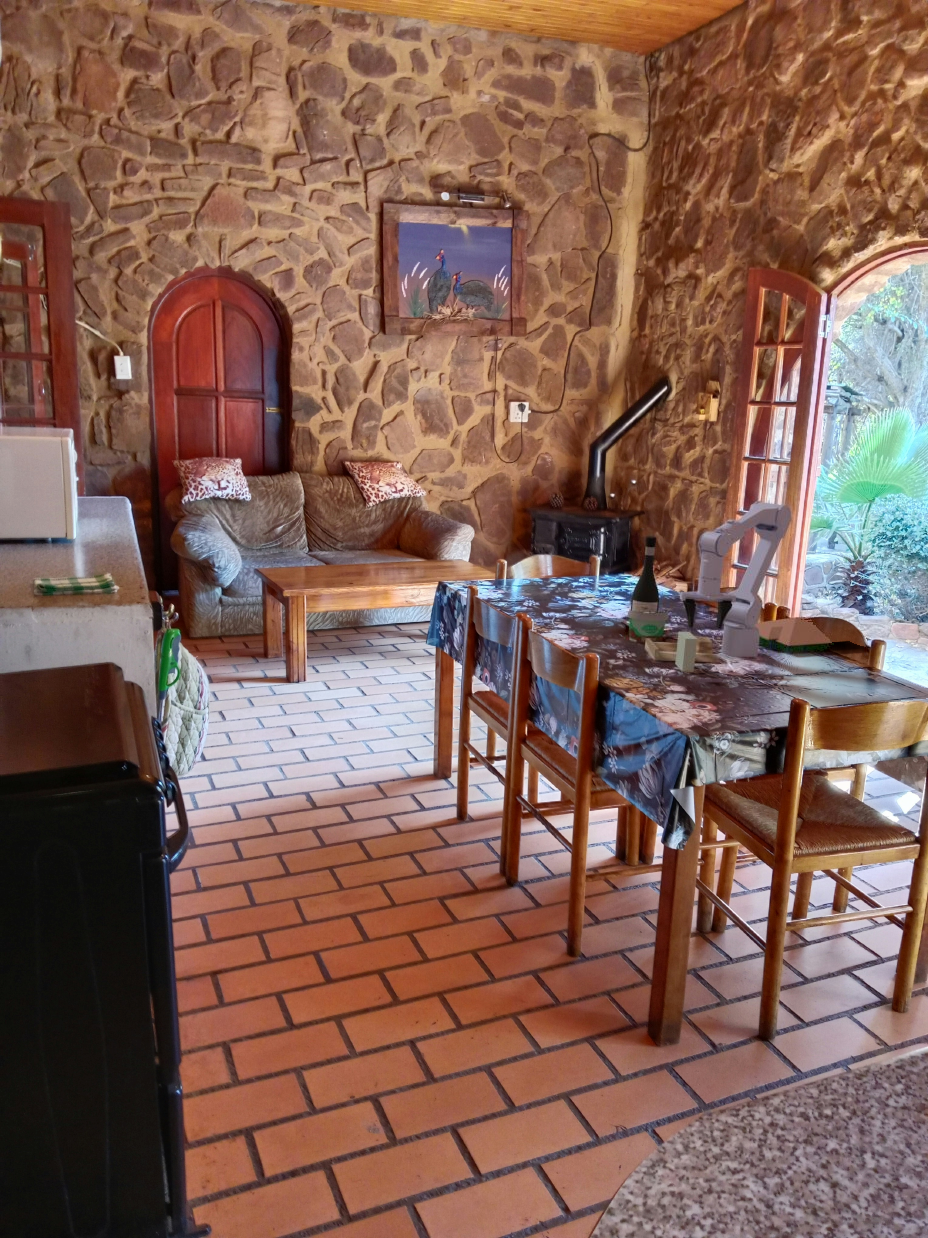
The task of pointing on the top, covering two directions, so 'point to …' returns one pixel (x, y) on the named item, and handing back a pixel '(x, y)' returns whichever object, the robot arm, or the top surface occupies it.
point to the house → (792, 633)
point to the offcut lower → (704, 651)
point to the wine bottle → (646, 583)
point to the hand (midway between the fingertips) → (704, 627)
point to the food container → (646, 625)
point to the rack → (672, 652)
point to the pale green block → (686, 651)
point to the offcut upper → (704, 643)
